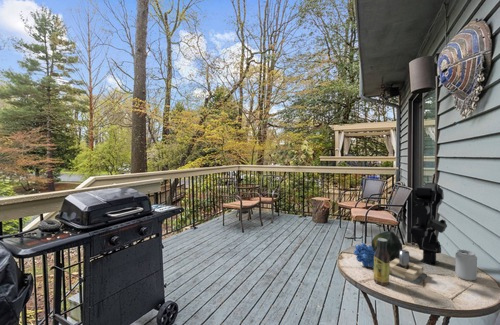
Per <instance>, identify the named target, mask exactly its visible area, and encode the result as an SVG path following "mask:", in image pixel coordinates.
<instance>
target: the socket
mask: <svg viewBox="0 0 500 325" xmlns="http://www.w3.org/2000/svg"><path fill="white" fill-rule="evenodd" d="M389 276H391V277H394V278H398V279H400V280H402V281H405V282H409V283H411V284H414V285H416V286H417V285H419V283H421V282H422V281H423V280H424V279H425V278H427V277H428V274H427V273H425V272H424V266H423V265H419V264H416V263H414V262H410V261H409V269H408V270H407V269H404V268H401V267H399V258H398V257H397V258H393V260H391V261H390V268H389Z"/></svg>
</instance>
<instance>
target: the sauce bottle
mask: <svg viewBox="0 0 500 325" xmlns="http://www.w3.org/2000/svg"><path fill="white" fill-rule="evenodd" d="M377 242H378V246H377V250H376V252H375V255H374V267H373V275H372V277H373V281H374V283H375V284H378V285H380V286H387V285H389V284H390V283H389V281H390V275H389V268H390V262H391V261H390V258H391V257H390V256H389V253H388V252H387V243H388V241H387V239H384V238H378V239H377Z"/></svg>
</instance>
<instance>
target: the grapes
mask: <svg viewBox="0 0 500 325" xmlns="http://www.w3.org/2000/svg"><path fill="white" fill-rule="evenodd" d="M353 254H354V256H355V257H356V261H357V262H359V263H362V265H363V266H364V267H368V266H369V267H371V268H374V255H375V251H373V247H372V246H371V244H370V245H369V244H368V245H367V244H366V243H364V242H361V243H360V244H355V249H354V250H353Z"/></svg>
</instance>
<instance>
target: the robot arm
mask: <svg viewBox="0 0 500 325" xmlns="http://www.w3.org/2000/svg"><path fill="white" fill-rule="evenodd" d="M413 193H414V194H413V199H412V202H414V203H416V204H415V205H414V206H413V207H412V209H411V210H412V213H413V215H414V216H415V218H417V219H416V223H415V225H413V226H411V227H410V228H409V233H410V234H411V235H412V236H413V238H414V241H415V242H416V243H417V246H418V249H419V250H420V251H421V250H422V258H421V259H420V262H421V263H424V264H428V265H430V266H436V265H437V264H438V263H440V261H439V260H437V254H438V255H439V254H441V253H442V245H441V244H440V241H439V239H438V237H437V235H436V231H437V232H438V233H440V234H442V233H444V232H445V231H446V229H447V228H448V224H447V222H446V220H445V219H443V218H442V219H440V220H438V219H437V217H438V216H437V215H438V209H439V207H440V206H441V205H442V203H443V200H444V197H445V196H444V190H443V189H442V188H441V187H440V186H439V184H438V183H436V182H426V183H425V185H423V186H416V189H414V192H413Z"/></svg>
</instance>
